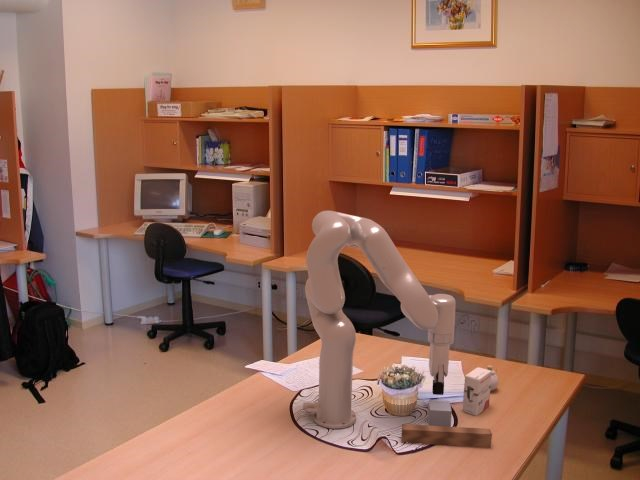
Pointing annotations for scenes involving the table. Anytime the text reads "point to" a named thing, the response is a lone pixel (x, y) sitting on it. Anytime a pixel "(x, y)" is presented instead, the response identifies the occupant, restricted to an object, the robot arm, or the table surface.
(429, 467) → the table surface
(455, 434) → the board
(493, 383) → the ornament
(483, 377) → the ink box
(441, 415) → the block
